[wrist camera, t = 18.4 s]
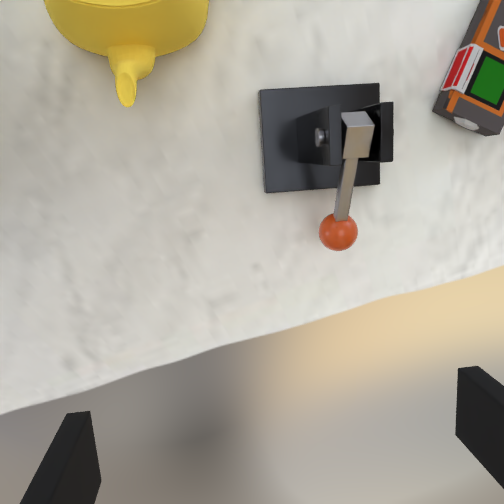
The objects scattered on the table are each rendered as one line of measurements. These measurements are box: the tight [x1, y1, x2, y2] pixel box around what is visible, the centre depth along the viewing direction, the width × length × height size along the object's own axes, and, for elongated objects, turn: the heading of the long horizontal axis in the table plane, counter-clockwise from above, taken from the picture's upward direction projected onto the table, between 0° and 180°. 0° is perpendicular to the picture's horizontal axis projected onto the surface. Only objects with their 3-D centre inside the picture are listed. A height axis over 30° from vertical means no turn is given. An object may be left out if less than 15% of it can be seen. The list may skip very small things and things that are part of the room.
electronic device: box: [433, 0, 504, 136], centre depth 45 cm, size 7×3×15 cm
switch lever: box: [319, 111, 375, 251], centre depth 39 cm, size 13×4×4 cm, turn 4°
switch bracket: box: [258, 83, 394, 193], centre depth 40 cm, size 10×12×13 cm
